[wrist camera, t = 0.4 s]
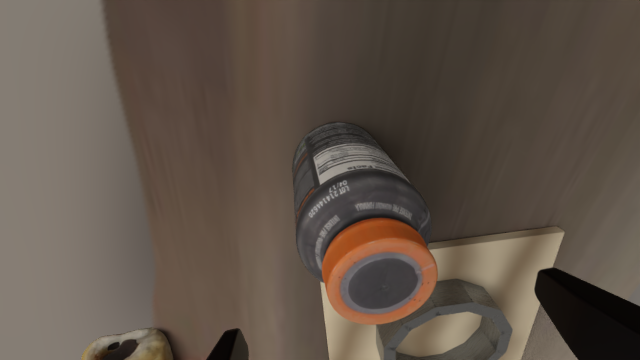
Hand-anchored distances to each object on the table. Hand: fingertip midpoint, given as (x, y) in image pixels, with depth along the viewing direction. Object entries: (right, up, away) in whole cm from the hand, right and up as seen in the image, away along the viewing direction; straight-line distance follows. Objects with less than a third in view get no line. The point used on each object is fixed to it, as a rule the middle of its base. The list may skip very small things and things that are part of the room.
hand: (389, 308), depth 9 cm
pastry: (-18, -12, +19) cm, 29 cm away
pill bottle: (-1, +5, +12) cm, 13 cm away
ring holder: (+8, -9, +19) cm, 23 cm away
